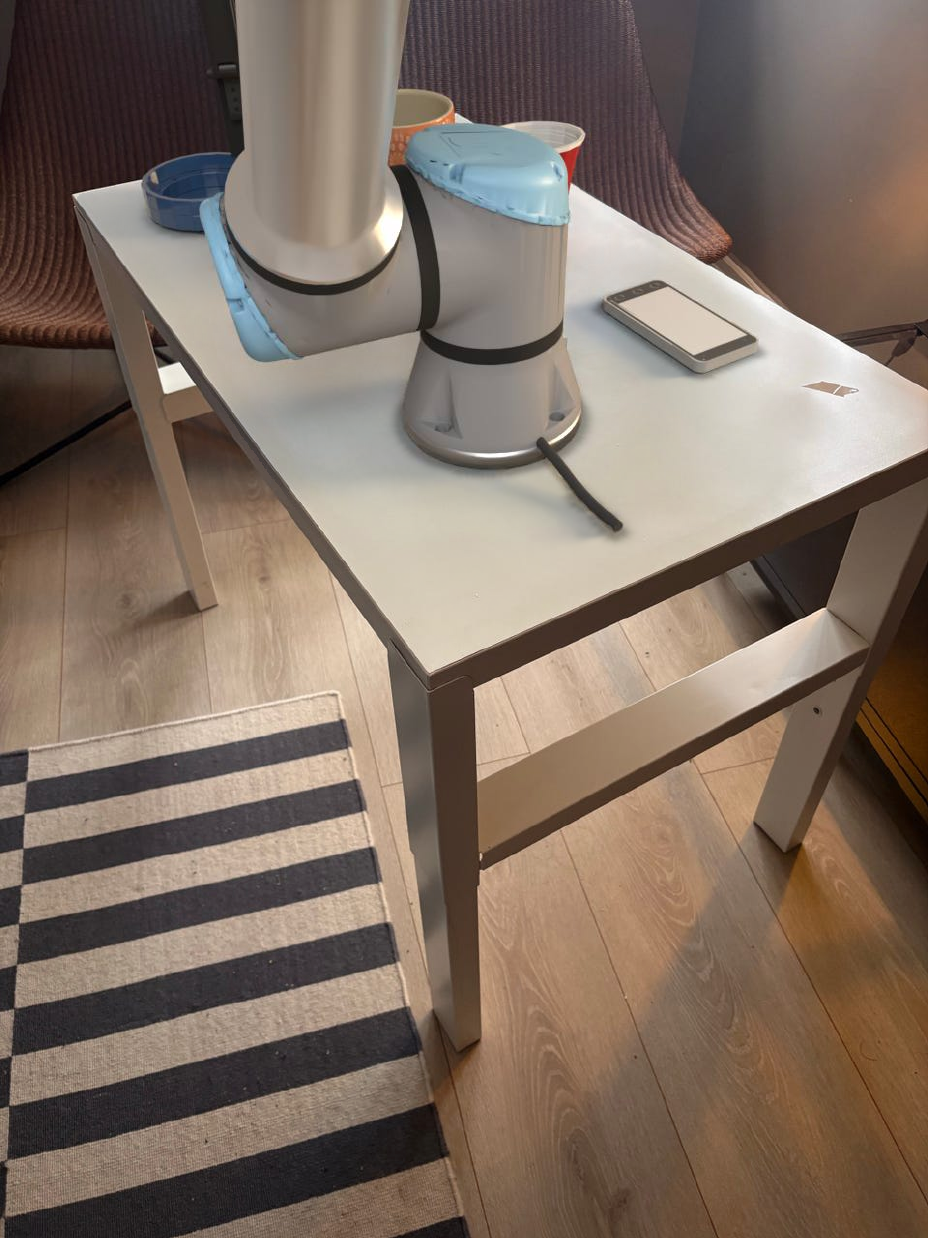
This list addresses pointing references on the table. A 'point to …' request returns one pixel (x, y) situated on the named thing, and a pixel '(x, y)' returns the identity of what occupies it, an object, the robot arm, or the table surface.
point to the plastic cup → (555, 139)
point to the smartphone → (680, 325)
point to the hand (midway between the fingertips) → (247, 150)
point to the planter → (416, 118)
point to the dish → (185, 188)
